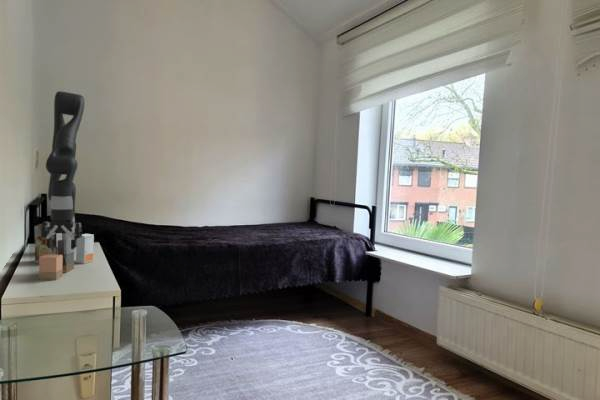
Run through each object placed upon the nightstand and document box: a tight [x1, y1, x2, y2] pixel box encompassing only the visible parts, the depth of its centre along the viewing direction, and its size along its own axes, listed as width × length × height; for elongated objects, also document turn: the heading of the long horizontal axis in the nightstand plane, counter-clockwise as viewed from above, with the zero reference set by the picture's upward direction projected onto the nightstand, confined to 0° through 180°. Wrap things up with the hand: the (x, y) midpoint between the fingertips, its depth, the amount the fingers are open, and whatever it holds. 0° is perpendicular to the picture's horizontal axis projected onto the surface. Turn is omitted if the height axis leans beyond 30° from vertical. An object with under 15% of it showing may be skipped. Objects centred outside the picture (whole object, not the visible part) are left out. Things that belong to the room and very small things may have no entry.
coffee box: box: [33, 223, 63, 264], centre depth 185 cm, size 9×6×16 cm
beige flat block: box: [57, 240, 68, 263], centre depth 167 cm, size 12×3×9 cm, turn 5°
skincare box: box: [75, 233, 95, 265], centre depth 188 cm, size 6×4×12 cm
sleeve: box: [62, 253, 75, 274], centre depth 173 cm, size 7×5×7 cm, turn 5°
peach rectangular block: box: [38, 254, 63, 281], centre depth 162 cm, size 5×6×8 cm
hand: (61, 248), depth 171 cm, fingers open, 8 cm apart
